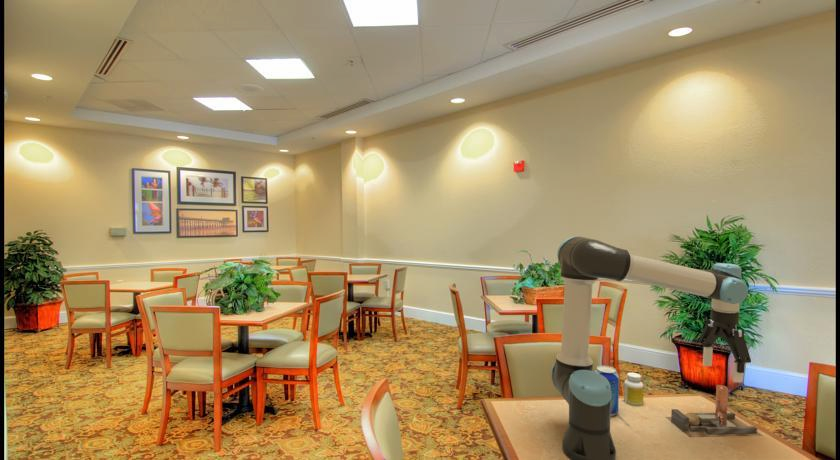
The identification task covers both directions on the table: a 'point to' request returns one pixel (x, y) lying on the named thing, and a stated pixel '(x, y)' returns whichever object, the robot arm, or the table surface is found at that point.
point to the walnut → (693, 419)
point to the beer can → (614, 384)
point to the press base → (708, 429)
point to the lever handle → (718, 410)
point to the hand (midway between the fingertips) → (721, 373)
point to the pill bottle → (633, 390)
